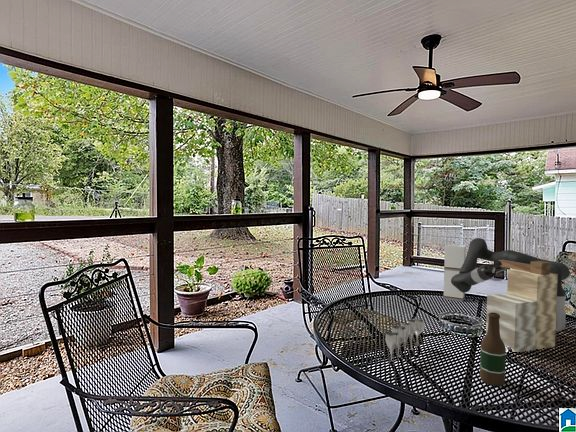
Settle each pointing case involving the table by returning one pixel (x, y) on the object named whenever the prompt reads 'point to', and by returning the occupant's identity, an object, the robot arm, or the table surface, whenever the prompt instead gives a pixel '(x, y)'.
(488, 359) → the beer bottle
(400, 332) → the goblet set
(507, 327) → the step shelf
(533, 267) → the wooden mallet
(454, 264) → the white tall block
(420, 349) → the table surface
